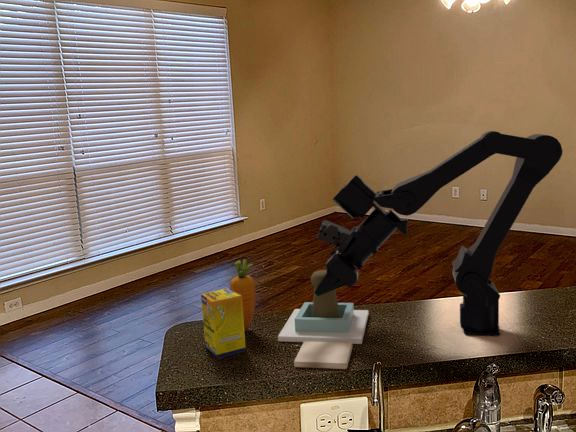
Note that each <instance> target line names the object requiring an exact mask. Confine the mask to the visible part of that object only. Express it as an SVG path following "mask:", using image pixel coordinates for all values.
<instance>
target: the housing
mask: <svg viewBox="0 0 576 432" xmlns="http://www.w3.org/2000/svg"><path fill="white" fill-rule="evenodd" d="M354 306H355V305H354V302H338V307H339V313H340V318H314V317H312V312H313V302H311V301H310V302H309V301H308V302H307V301H305V302H304V303H303V304H302V306H301V307H300V308H294V310H293V311H292V313H291V315H290V316H289V318H288V320H287V321H286V323H285V324H284V326H283V327H282V329H281V330H280V332H279V334H278V335H277V340H278V342H291V343H303V342H304V341H312V342H344V343H352V345H355V344H356V345H362V344H363V339H364V336H365V333H366V327H367V323H368V320H369V319H368V318H369V315H370V314H369V309H355V308H354Z"/></svg>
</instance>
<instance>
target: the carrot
mask: <svg viewBox="0 0 576 432" xmlns="http://www.w3.org/2000/svg"><path fill="white" fill-rule="evenodd" d="M242 261H243V262H242ZM242 261H241V260H237V261H236V262H235V263H234V264H233V265H234V267H235V268H236V273H237V276H234V277H233V278H232V279H230V283H229V285H230V286H229V287H230V289H231V290H232V291H234V292H235V293H237V294H239V295H241V296H242V302H243V317H244V331H246V330H247V331H248V330H249V329H250V326H251V324H252V322H253V318H254V313H255V308H256V307H255V306H256V281H255V279H254V278H253V277H251V276H250V275H247V274H248V272H249V271H250V269H252V267H254V264H253V263H249V264H248V265H247V261H248V259H243V260H242ZM247 331H246V332H247Z"/></svg>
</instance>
